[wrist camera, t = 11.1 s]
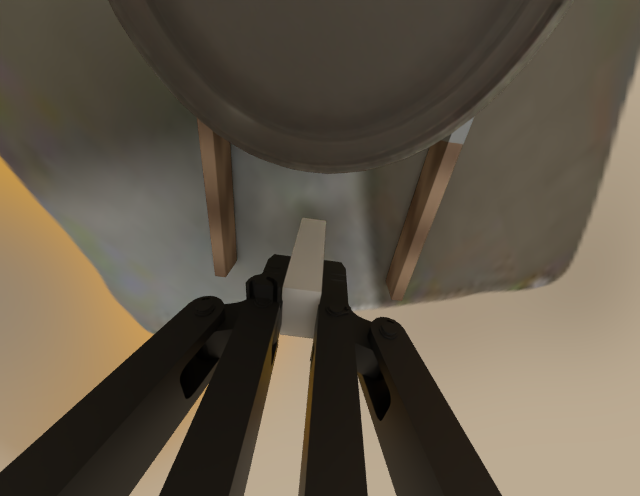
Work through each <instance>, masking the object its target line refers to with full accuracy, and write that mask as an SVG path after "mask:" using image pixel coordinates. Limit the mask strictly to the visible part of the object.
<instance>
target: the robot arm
mask: <svg viewBox="0 0 640 496" xmlns="http://www.w3.org/2000/svg"><path fill="white" fill-rule="evenodd" d="M325 231H326V221H324V220H316V219H309V218H302V220H301V224H300V227H299V231H298V234H297V238H296V241H295V245H294V249H293V252H292V256H284V255H276V254H274V255H273V256H272V257H271V258H269V259H268V261H267V264H266V267H265V268H264V271H263V273H262V274H260V275H255V276H253V277H251V278H250V279H248V281H247V282H246V297H247V299H246V300H244V301H242V302H238V303H231V304H224V303H223V302H222V300H221V299H219V298H217V297H214V296H204V297H200V298H197V299H195V300H193V301H192V302H190V303H189V304H188V305H187V306H186V307H184V308H183V309H182V310H181V311H180V312H179V313H178V314H177V315H176V316H174V317H173V318H172V319H171V320H170V321H169V322H168V323H167V324H165V325H164V326H163V327H162V328H161V329H160V330H159V331H158V332H157V333H155V334H154V335H153V336H152V337H151V338H150V339H149V340H148V341H147V342H145V343H144V344H143V345H142V346H141V347H140V348H139V349H138V350H137V351H135V352H134V353H133V354H132V355H131V356H130V357H129V358H128V359H126V360H125V361H124V362H123V363H122V364H121V365H120V366H119V367H117V368H116V369H115V370H114V371H113V372H112V373H111V374H110V375H109V376H108V377H106V378H105V379H104V380H103V381H102V382H101V383H100V384H99V385H98V386H96V387H95V388H94V389H93V390H92V391H91V392H90V393H88V394H87V395H86V396H85V397H84V398H83V399H82V400H81V401H79V402H78V403H77V404H76V405H75V406H74V407H73V408H72V409H71V410H70V411H68V412H67V413H66V414H65V415H64V416H63V417H62V418H61V419H59V420H58V421H57V422H56V423H55V424H54V425H53V426H52V427H51V428H49V429H48V430H47V431H46V432H45V433H44V434H43V435H42V436H41V437H39V438H38V439H37V440H36V441H35V442H34V443H33V444H31V445H30V447H28V448H27V449H26V450H25V451H24V452H23V453H22V454H20V455H19V456H18V457H17V458H16V459H15V460H14V461H12V463H10V464H9V465H8V466H7V467H6V468H5V469H4V470H3V471H1V472H0V496H129V495H130V493H131V492H132V490H133V489H134V488H135V486H136V485H137V483H138V482H139V480H140V479H141V478H142V476H143V475H144V474H145V472H146V471H147V469H148V468H149V467H150V465H151V464H152V462H153V461H154V460H155V458H156V456H157V455H158V454H159V452H160V451H161V450H162V448H163V447H164V445H165V444H166V442H167V441H168V440H169V438H170V437H171V436H172V434H173V433H174V431H175V430H176V428H177V427H178V426H179V424H180V423H181V422H182V420H183V419H184V417H185V416H186V415H187V413H188V411H189V410H190V409H191V407H192V406H193V405H194V403H195V402H196V400H197V399H198V398H199V396H200V395H201V393H202V392H203V391H204V389H205V388H206V386H207V385H208V384H209V385H208V387H207V389H206V391H205V394H204V396H203V398H202V401H201V403H200V405H199V407H198V409H197V411H196V414H195V416H194V418H193V420H192V423H191V425H190V427H189V429H188V432H187V434H186V436H185V439H184V441H183V443H182V445H181V448H180V450H179V452H178V454H177V456H176V459H175V461H174V463H173V465H172V468H171V470H170V472H169V474H168V477H167V479H166V481H165V483H164V486H163V488H162V490H161V493H160V495H159V496H244V492H245V488H246V484H247V479H248V475H249V471H250V466H251V462H252V457H253V453H254V449H255V444H256V440H257V436H258V431H259V427H260V423H261V418H262V413H263V409H264V405H265V401H266V396H267V392H268V387H269V383H270V379H271V374H272V370H273V366H274V361H275V357H276V352H277V348H278V338H279V333H280V334H281V335H289V336H297V337H305V338H313V346H312V352H311V358H310V361H311V365H310V375H309V388H308V397H307V398H308V399H307V408H306V419H305V429H304V440H303V451H302V462H301V473H300V485H299V494H298V496H368V494H367V483H366V470H365V459H364V447H363V435H362V423H361V411H360V400H359V389H358V378H359V381H360V384H361V387H362V390H363V393H364V397H365V400H366V403H367V406H368V409H369V412H370V415H371V418H372V421H373V424H374V427H375V431H376V434H377V437H378V440H379V443H380V446H381V449H382V452H383V455H384V458H385V461H386V465H387V467H388V471H389V474H390V477H391V480H392V483H393V486H394V489H395V492H396V495H397V496H502V495H501V493H500V491H499V490H498V488H497V486H496V485H495V483H494V481H493V480H492V478H491V476H490V474H489V473H488V471H487V469H486V468H485V466H484V464H483V463H482V461H481V459H480V457H479V456H478V454H477V452H476V451H475V449H474V447H473V446H472V444H471V442H470V440H469V439H468V437H467V435H466V434H465V432H464V430H463V429H462V427H461V426H460V423H459V422H458V420H457V418H456V417H455V415H454V413H453V411H452V410H451V408H450V406H449V405H448V403H447V401H446V400H445V398H444V396H443V394H442V393H441V391H440V389H439V388H438V386H437V384H436V382H435V381H434V379H433V377H432V376H431V374H430V372H429V371H428V369H427V367H426V366H425V364H424V362H423V360H422V359H421V357H420V355H419V354H418V352H417V350H416V348H415V347H414V345H413V343H412V342H411V340H410V338H409V337H408V335H407V333H406V331H405V330H404V328H403V327H402V326H401V325H400V324H399V323H398V322H396V321H395V320H392V319H390V318H387V317H380V318H376V319H375V320H373V321H372V322H371V321H368V320H365V319H363V318H361V317H359V316H357V315H356V314H355V313H354V312H353V311H352V310H351V307H350V306H349V304H348V293H347V282H346V281H347V280H346V268H345V267H344V266H343V264H342V263H341V262H334V261H327V260H324V246H325ZM357 375H358V376H357Z"/></svg>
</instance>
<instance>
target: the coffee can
mask: <svg viewBox="0 0 640 496" xmlns="http://www.w3.org/2000/svg"><path fill="white" fill-rule="evenodd" d="M108 1H109V3H110V5H111V7H112V9H113V11H114V13H115V15H116V17H117V19H118V20H119V22H120V23H121V25H122V27H123V28H124V30H125V31H126V33H127V34H128V36H129V38H130V39H131V41H132V42H133V44H134V45H135V47H136V48H137V49H138V51H139V52H140V54H141V55H142V56H143V58H144V59H145V61H146V62H147V63H148V65H149V66H150V67H151V69H152V70H153V71H154V73H155V74H156V75H157V77H158V78H159V79H160V80H161V81H162V82H163V84H164V85H165V86H166V87H167V88H168V89H169V91H170V92H171V93H172V94H173V95H174V96H175V97H176V98H177V99H178V100H179V101H180V102H181V103H182V104H183V105H184V106H185V107H186V108H187V109H188V110H189V111H190V112H191V113H193V114H194V115H195V116H196V117H197V118H198V119H199V120H200V121H201V122H202V123H204V124H205V125H206V126H208V127H209V128H210V129H211V130H212V131H213V132H215V133H216V134H217V135H219V136H220V137H222V138H223V139H225V140H227V141H228V142H230V143H232V144H233V145H235V146H236V147H238V148H240V149H242V150H244V151H245V152H247V153H249V154H251V155H254V156H256V157H258V158H260V159H263V160H265V161H268V162H271V163H274V164H277V165H280V166H283V167H286V168H290V169H294V170H300V171H305V172H313V173H325V174H332V173H348V172H358V171H366V170H370V169H374V168H378V167H381V166H385V165H388V164H391V163H394V162H397V161H400V160H403V159H406V158H408V157H410V156H412V155H414V154H417V153H419V152H421V151H423V150H425V149H427V148H429V147H430V146H432V145H434V144H435V143H437V142H439V141H440V140H442V139H443V138H445V137H447V136H448V135H450V134H452V133H453V132H454V131H456V130H457V129H458V128H460V127H461V126H462V125H464V124H465V123H467V122H468V121H469V120H471V119H472V118H473V117H474V116H476V115H477V114H478V113H479V112H480V111H481V110H483V109H484V108H485V107H486V106H487V105H488V104H489V103H490V102H491V101H492V100H494V99H495V98H496V97H497V96H498V95H499V94H500V93H501V92H502V91H503V90H504V89H505V88H506V87H507V86H508V85H509V84H510V83H511V82H512V81H513V79H514V78H515V77H516V76H517V75H518V74H519V73H520V72H521V71H522V70H523V69H524V68H525V67H526V65H527V64H528V63H529V62H530V61H531V59H532V58H533V57H534V56H535V55H536V54H537V52H538V51H539V50H540V48H541V47H542V46H543V44H544V43H545V41H546V40H547V39H548V37H549V36H550V35H551V33H552V32H553V31H554V29H555V28H556V26H557V25H558V24H559V22H560V21H561V20H562V18H563V17H564V15H565V14H566V12H567V11H568V9H569V8H570V6H571V4H572V3H573V1H574V0H108Z"/></svg>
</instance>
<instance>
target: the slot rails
mask: <svg viewBox="0 0 640 496" xmlns="http://www.w3.org/2000/svg"><path fill="white" fill-rule="evenodd" d="M197 123H198V132H199V141H200V149H201V158H202V166H203V175H204V184H205V192H206V201H207V209H208V218H209V227H210V235H211V244H212V252H213V261H214V269H215V276H220V277H226V276H227V275H228V273H229V272H230V270H231V269H232V267H233V266H234V264H235V263H236V261H237V252H236V234H235V217H234V199H233V182H232V165H231V147H230V142H228V141H227V140H225V139H223V138H222V137H220V136H219V135H217V134H216V133H215V132H213V131H212V130H211V129H210V128H209V127H208V126H206V125H205V124H204V123H202V122H201V121H200V120H199V119H198V118H197ZM462 146H463V144H458V143H451V142H446V141H442V140H440V141H439V142H437V143H435V144H434V145H432V146H430V148H429V151H428V154H427V157H426V160H425V163H424V166H423V169H422V172H421V175H420V178H419V181H418V184H417V187H416V190H415V193H414V196H413V199H412V202H411V205H410V208H409V211H408V214H407V217H406V220H405V223H404V226H403V229H402V232H401V235H400V238H399V242H398V245H397V248H396V251H395V254H394V257H393V260H392V263H391V266H390V269H389V272H388V275H387V278H386V283H387V286H388V290H389V293H390V296H391V299H392V300H399V301H402V299H403V296H404V294H405V291H406V289H407V286H408V284H409V281H410V278H411V276H412V273H413V271H414V268H415V266H416V263H417V261H418V258H419V256H420V253H421V251H422V248H423V245H424V243H425V240H426V238H427V235H428V233H429V230H430V228H431V225H432V223H433V220H434V217H435V215H436V212H437V210H438V207H439V205H440V202H441V200H442V197H443V195H444V192H445V189H446V187H447V184H448V182H449V179H450V177H451V174H452V172H453V169H454V167H455V164H456V161H457V159H458V156H459V154H460V151H461V149H462Z"/></svg>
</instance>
